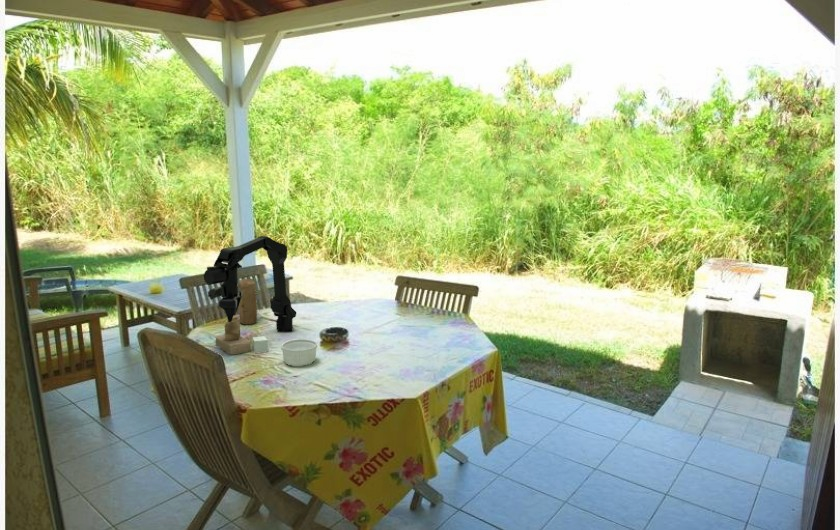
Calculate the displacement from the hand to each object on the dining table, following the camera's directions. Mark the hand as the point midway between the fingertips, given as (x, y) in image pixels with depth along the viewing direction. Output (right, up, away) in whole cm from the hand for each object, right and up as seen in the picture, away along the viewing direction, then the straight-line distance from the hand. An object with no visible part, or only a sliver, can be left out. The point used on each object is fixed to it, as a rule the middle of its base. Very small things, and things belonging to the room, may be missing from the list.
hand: (231, 318), depth 223 cm
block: (-5, -5, +37) cm, 38 cm away
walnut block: (0, -8, +2) cm, 8 cm away
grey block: (+11, -13, 0) cm, 17 cm away
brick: (-1, -13, +3) cm, 13 cm away
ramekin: (+29, -16, -10) cm, 35 cm away
